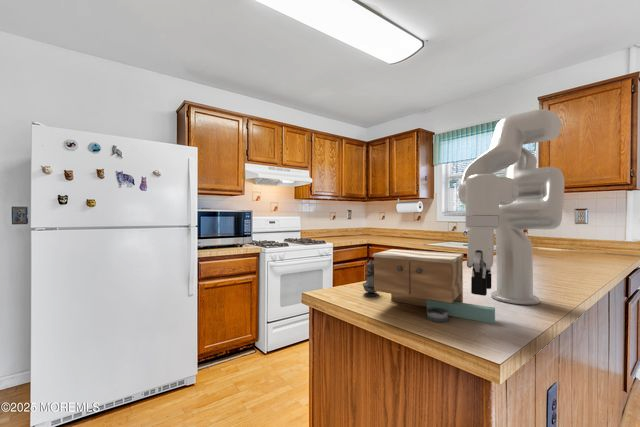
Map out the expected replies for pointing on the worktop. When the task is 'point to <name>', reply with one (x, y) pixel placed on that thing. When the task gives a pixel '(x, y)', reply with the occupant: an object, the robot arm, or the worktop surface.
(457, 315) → the teal blade
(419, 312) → the worktop surface
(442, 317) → the steel token
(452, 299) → the cabinet
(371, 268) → the grey statuette
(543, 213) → the robot arm
